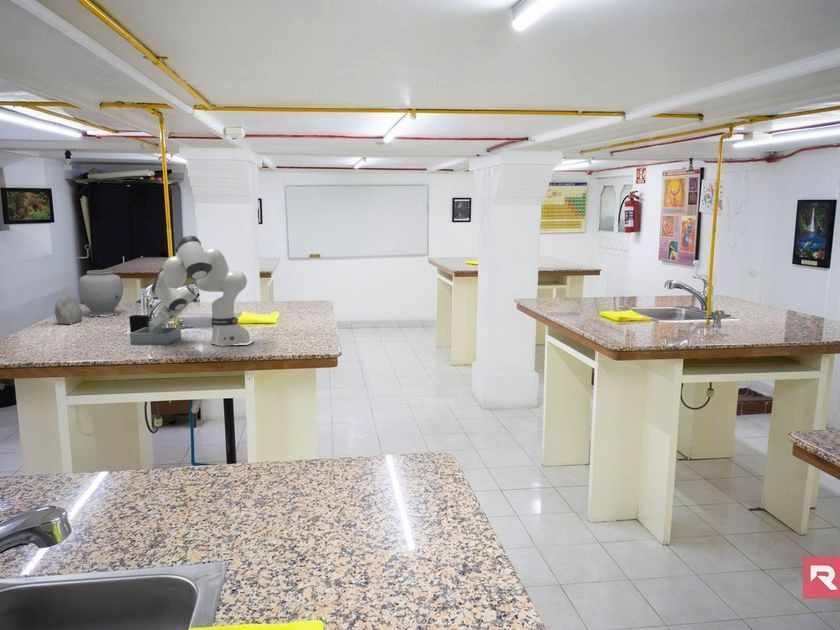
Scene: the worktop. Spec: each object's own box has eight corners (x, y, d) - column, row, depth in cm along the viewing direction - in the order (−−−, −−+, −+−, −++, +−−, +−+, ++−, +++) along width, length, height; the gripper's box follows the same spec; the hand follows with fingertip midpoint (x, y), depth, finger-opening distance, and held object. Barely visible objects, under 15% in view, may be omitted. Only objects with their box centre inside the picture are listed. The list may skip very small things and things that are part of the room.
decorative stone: (67, 326, 394) (53, 325, 395) (88, 320, 413) (74, 319, 414) (65, 299, 391) (50, 298, 392) (86, 294, 410) (72, 294, 412)
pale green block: (162, 336, 351) (161, 320, 350) (158, 338, 346) (157, 321, 345) (153, 336, 351) (152, 320, 350) (149, 338, 346) (148, 321, 345)
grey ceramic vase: (133, 313, 441) (130, 270, 436) (101, 319, 417) (98, 273, 412) (103, 311, 451) (100, 268, 446) (71, 316, 426) (67, 271, 421)
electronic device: (145, 333, 371) (144, 316, 369) (130, 332, 373) (129, 315, 371) (150, 332, 375) (149, 315, 373) (134, 331, 377) (133, 314, 375)
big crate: (181, 338, 358) (180, 327, 357) (168, 344, 340) (167, 333, 339) (145, 337, 358) (144, 327, 357) (130, 344, 340) (129, 333, 339)
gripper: (174, 303, 356) (158, 320, 358) (159, 309, 336) (142, 327, 338) (183, 311, 357) (166, 328, 358) (168, 317, 337) (151, 335, 338)
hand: (154, 328), depth 348 cm, fingers closed on pale green block, 5 cm apart
